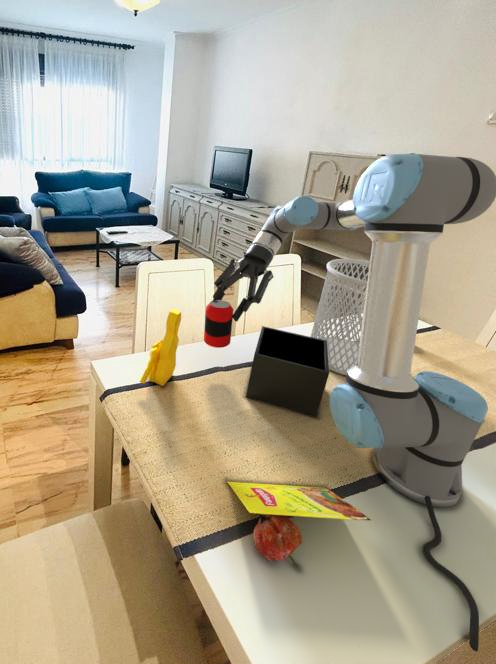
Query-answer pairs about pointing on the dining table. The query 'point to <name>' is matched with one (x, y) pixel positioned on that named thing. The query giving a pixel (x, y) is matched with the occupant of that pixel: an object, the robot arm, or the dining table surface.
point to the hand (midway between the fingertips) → (222, 313)
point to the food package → (294, 501)
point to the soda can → (218, 323)
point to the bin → (289, 371)
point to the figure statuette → (164, 353)
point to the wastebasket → (340, 349)
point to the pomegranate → (276, 537)
